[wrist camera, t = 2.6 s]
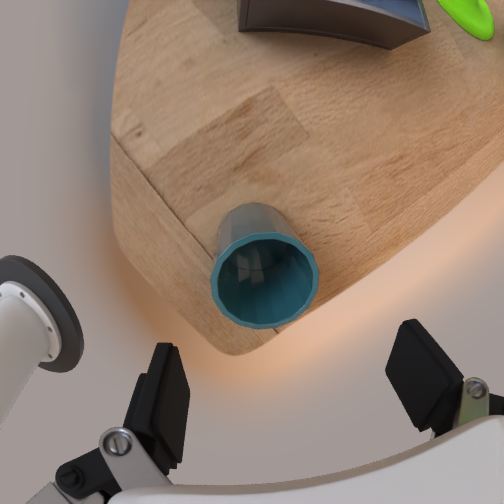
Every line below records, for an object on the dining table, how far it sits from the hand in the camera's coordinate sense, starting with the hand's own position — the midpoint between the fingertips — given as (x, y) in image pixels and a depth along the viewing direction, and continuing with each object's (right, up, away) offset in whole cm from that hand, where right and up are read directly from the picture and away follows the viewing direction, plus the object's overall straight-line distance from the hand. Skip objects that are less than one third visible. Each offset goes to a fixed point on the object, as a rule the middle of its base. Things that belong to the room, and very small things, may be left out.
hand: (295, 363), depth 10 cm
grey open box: (+4, +30, +6) cm, 31 cm away
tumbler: (-2, +6, +15) cm, 16 cm away
